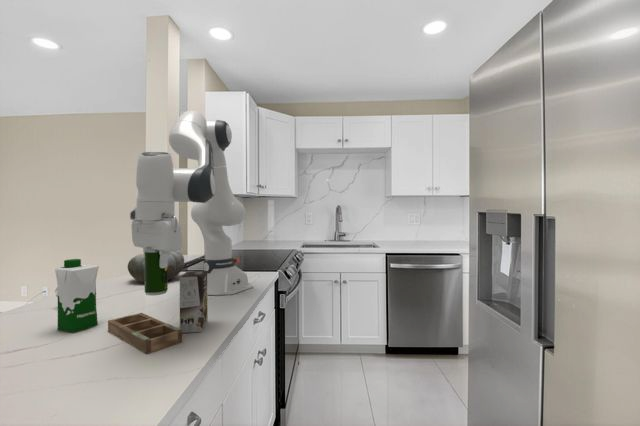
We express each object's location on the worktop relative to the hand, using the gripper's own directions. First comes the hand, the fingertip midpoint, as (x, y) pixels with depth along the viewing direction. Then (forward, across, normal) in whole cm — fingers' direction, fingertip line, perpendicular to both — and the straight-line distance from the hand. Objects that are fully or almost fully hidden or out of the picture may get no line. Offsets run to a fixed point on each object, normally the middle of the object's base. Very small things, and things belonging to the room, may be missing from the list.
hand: (156, 266), depth 85 cm
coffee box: (+20, +3, -12) cm, 24 cm away
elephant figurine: (+20, +56, +3) cm, 60 cm away
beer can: (+7, 0, 0) cm, 7 cm away
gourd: (+21, +77, -36) cm, 88 cm away
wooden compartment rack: (+20, +8, 0) cm, 22 cm away
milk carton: (+20, +30, +9) cm, 38 cm away
